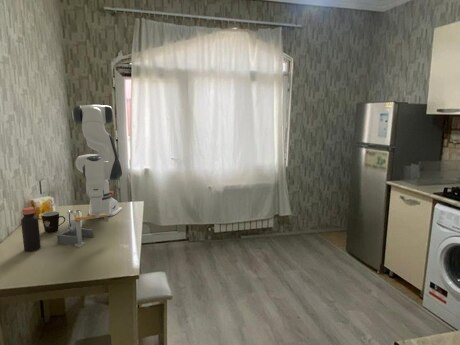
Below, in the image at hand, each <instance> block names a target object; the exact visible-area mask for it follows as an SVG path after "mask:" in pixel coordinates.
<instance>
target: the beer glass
mask: <svg viewBox="0 0 460 345" xmlns="http://www.w3.org/2000/svg"><path fill="white" fill-rule="evenodd" d="M77 216H80V217H83V213H82V210H80V209H72V210H68V211H67V212H66V223H67V227H68V230H69V231H70V236H77V230H76V221H75V217H77ZM80 222H81V235H82V228H83V220H81V221H80ZM83 239H84V237H83V236H82V240H83Z"/></svg>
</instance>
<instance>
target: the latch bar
mask: <svg viewBox="0 0 460 345" xmlns="http://www.w3.org/2000/svg"><path fill="white" fill-rule="evenodd" d="M100 218H103V220H104V221H103V222H105V223H106V222H109V216H108V215H107V214H106V213H105V214H100V217H99V219H100ZM92 219H93V220H94V219H97V218H96V215H90V216H89V215H84V216H83V215H82V217H80V216H77V217H75V221H81V220H82V221H84V220H92Z"/></svg>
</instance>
